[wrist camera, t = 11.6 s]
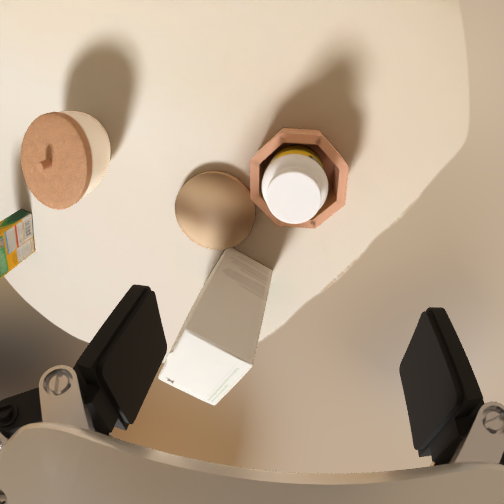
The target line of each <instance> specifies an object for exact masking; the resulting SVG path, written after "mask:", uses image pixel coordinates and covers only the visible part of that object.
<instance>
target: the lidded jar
mask: <svg viewBox="0 0 504 504" xmlns="http://www.w3.org/2000/svg"><path fill="white" fill-rule="evenodd" d="M110 155H111V147H110V141H109V138H108V135H107V132H106V130H105V129H104V127H103V126H102V125H101V124H100V122H99V121H98V120H96V119H95V118H94V117H92V116H90V115H88V114H86V113H83V112H78V111H62V112H51V113H46V114H43V115H41V116H39V117H38V118H36V119H35V120H34V121H33V122H32V123H31V125H30V126H29V127H28V129H27V131H26V133H25V136H24V138H23V142H22V147H21V166H22V171H23V175H24V178H25V181H26V183H27V185H28V187H29V189H30V191H31V192H32V193H33V195H34V196H35V197H36V198H37V199H38V200H39V201H40V202H41V203H42V204H44V205H46V206H47V207H50V208H53V209H65V208H68V207H70V206H72V205H73V204H75V203H77V202H78V201H79V200H80V199H81V198H83V197H84V196H86V195H87V194H88V193H90V192H91V191H92V190H93V189H94V188H95V187H96V186H97V185H98V184H99V183H100V181H101V180H102V179H103V177H104V175H105V173H106V171H107V169H108V166H109V161H110Z"/></svg>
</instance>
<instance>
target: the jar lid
mask: <svg viewBox="0 0 504 504" xmlns="http://www.w3.org/2000/svg"><path fill="white" fill-rule="evenodd" d="M175 214H176V218H177V222H178V224H179V226H180V228H181V230H182V231H183V232H184V234H185V235H186V236H187V237H188V238H189V239H190V240H192V241H193V242H195V243H196V244H198V245H200V246H202V247H205V248H208V249H214V250H223V249H228V248H231V247H234V246H236V245H238V244H239V243H241V242H242V241H243V240H244V239H245V238H246V237H247V236H248V234H249V233H250V231H251V229H252V226H253V223H254V220H255V203H254V202H253V201H252V200H251V198H250V191H249V190H248V188H247V187H246V186H245V185H244V184H243V183H242V182H241V181H240V180H239V179H237V178H236V177H234V176H232V175H230V174H227V173H224V172H220V171H207V172H203V173H200V174H198V175H196V176H194V177H192V178H191V179H190V180H188V181H187V182H186V183H185V184H184V185H183V186H182V188H181V189H180V191H179V193H178V195H177V198H176V202H175Z"/></svg>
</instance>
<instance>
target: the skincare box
mask: <svg viewBox="0 0 504 504" xmlns="http://www.w3.org/2000/svg"><path fill="white" fill-rule="evenodd" d="M272 272H273V271H272V270H271V269H269V268H267V267H266V266H264V265H262V264H260V263H259V262H257V261H255V260H253V259H251V258H250V257H248V256H246V255H244V254H243V253H241V252H239V251H237V250H236V249H234V248H232V247H231V248H228V249H225V251H224V253H223V254H222V256H221V257H220V259H219V261H218V262H217V264H216V265H215V267H214V269H213V270H212V272H211V274H210V275H209V277H208V279H207V281H206V282H205V284H204V286H203V288H202V290H201V291H200V293H199V295H198V297H197V299H196V301H195V303H194V305H193V306H192V308H191V310H190V312H189V314H188V316H187V318H186V320H185V322H184V324H183V326H182V328H181V330H180V332H179V334H178V336H177V338H176V340H175V342H174V344H173V346H172V349H171V351H170V353H169V355H168V356H167V359H166V361H165V363H164V366H163V368H162V370H161V372H160V374H159V377H158V378H159V379H160V380H162V381H164V382H166V383H168V384H170V385H172V386H174V387H176V388H178V389H180V390H182V391H184V392H186V393H188V394H190V395H192V396H194V397H196V398H199V399H201V400H203V401H205V402H207V403H210V404H212V405H216V404H217V403H218V402H219V401H220V400H221V399H222V397H224V396H225V394H227V392H229V391H230V389H232V387H233V386H234V385H235V384H236V383H237V382H238V381H239V380H240V379H241V378H242V377H243V376H244V375H245V374H246V373H247V372H248V371H249V369H250V368H251V367H252V366H253V361H254V357H255V352H256V348H257V343H258V338H259V334H260V329H261V325H262V320H263V315H264V311H265V306H266V301H267V296H268V292H269V287H270V282H271V277H272Z"/></svg>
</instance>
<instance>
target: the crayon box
mask: <svg viewBox="0 0 504 504" xmlns="http://www.w3.org/2000/svg"><path fill="white" fill-rule="evenodd" d="M34 251H35V248H34V239H33V227H32V213H29V212H27V211H25V210H22V209H20V210H19V211H17V212H15V213H14V214H12V215H10V216H9V217H7V218H6V219H4V220H3V221H1V222H0V279H1V278H2V277H3V276H5V275H6V274H7V273H8V272H9V271H11V270H12V269H13V268H14V267H15V266H17V265H18V264H19V263H20V262H22V261H23V260H24V259H26V258H27V257H28V256H29V255H31V254H32V253H33V252H34Z"/></svg>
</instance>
